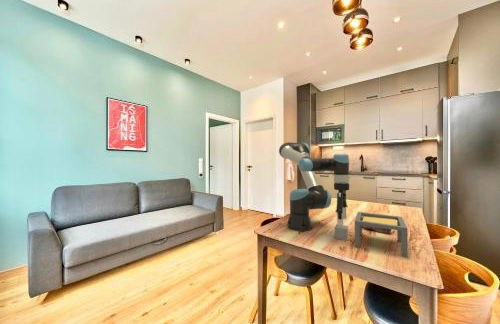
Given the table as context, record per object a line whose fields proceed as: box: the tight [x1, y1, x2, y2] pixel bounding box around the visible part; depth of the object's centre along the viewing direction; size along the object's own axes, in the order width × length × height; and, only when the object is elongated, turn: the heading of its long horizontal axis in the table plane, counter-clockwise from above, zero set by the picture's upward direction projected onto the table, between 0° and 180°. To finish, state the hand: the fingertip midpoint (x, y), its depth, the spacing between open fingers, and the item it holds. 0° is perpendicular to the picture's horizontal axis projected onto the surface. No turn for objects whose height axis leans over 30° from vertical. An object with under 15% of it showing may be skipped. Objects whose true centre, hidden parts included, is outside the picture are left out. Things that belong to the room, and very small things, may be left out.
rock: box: [362, 216, 392, 234], centre depth 117 cm, size 16×11×15 cm
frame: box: [354, 211, 409, 258], centre depth 98 cm, size 20×20×12 cm
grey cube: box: [334, 223, 349, 242], centre depth 106 cm, size 6×6×6 cm
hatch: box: [362, 216, 397, 227], centre depth 98 cm, size 14×14×1 cm
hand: (342, 222), depth 105 cm, fingers open, 13 cm apart
